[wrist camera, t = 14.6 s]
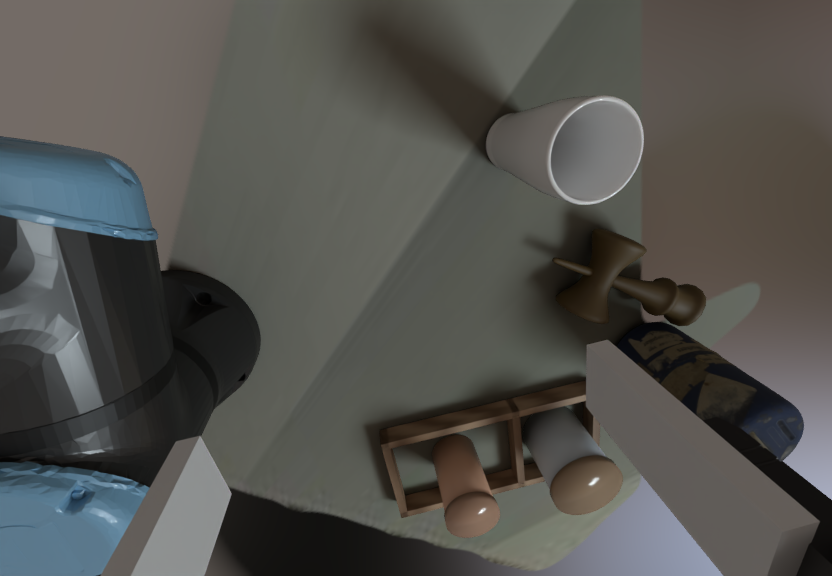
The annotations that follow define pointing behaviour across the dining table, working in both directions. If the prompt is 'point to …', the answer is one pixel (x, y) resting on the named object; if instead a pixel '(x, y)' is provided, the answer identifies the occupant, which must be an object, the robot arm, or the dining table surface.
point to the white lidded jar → (571, 462)
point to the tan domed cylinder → (464, 488)
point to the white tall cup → (570, 147)
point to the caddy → (477, 418)
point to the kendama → (625, 284)
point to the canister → (714, 386)
